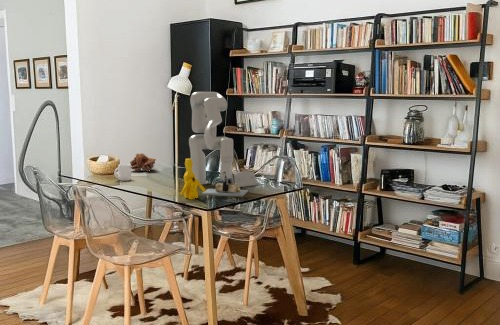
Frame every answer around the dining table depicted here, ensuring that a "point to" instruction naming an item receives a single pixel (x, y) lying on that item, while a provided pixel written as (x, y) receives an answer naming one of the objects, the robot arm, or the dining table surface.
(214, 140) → the robot arm
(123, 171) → the mug
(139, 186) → the dining table surface
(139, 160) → the mineral specimen
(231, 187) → the oak panel
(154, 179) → the dining table surface
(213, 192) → the white flat slab
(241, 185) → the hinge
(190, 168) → the figure statuette
